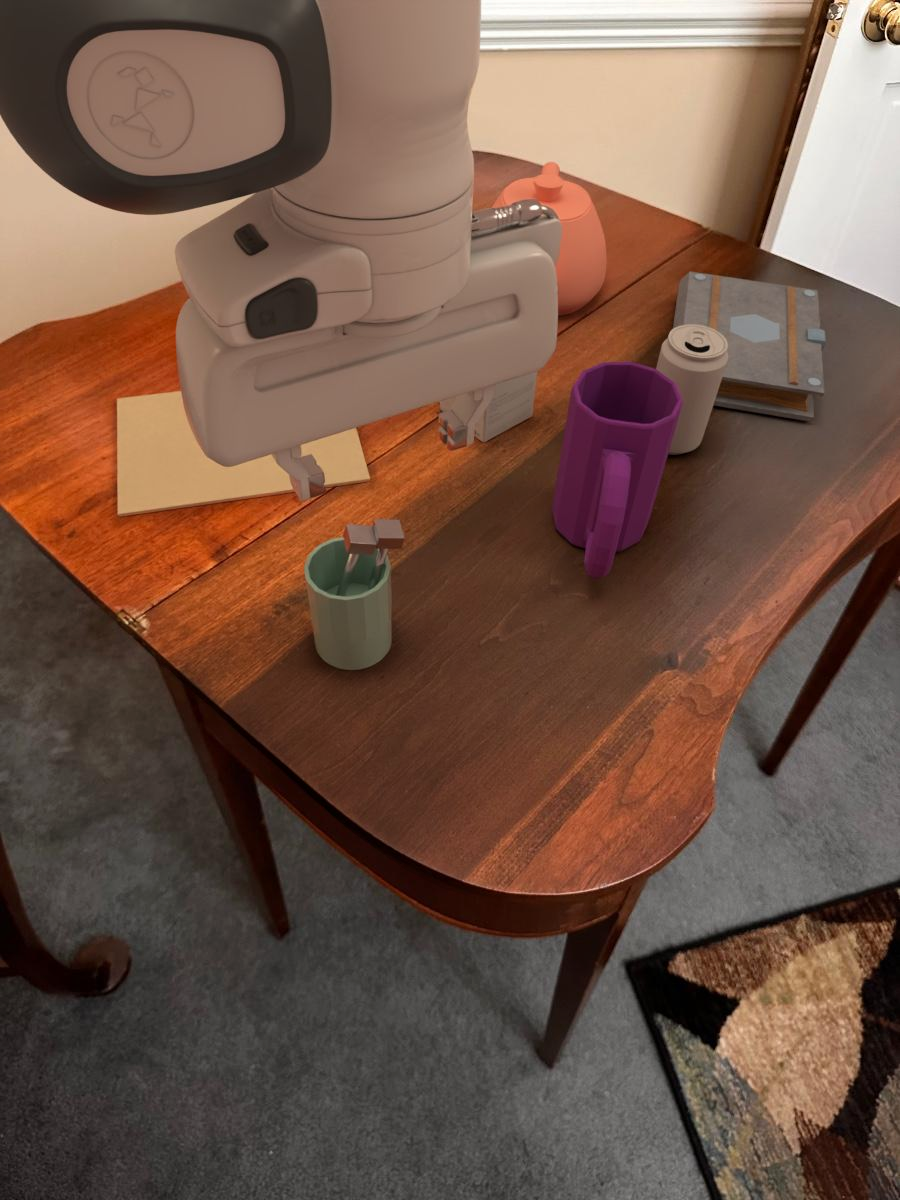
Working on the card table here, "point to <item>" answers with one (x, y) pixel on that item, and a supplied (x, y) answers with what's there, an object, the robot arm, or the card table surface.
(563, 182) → the teapot
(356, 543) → the square head hammer
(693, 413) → the beverage can
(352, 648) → the tumbler
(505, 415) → the white packaging box
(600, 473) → the mug
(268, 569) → the card table surface
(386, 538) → the metal mallet
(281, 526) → the card table surface
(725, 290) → the book
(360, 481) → the mat
